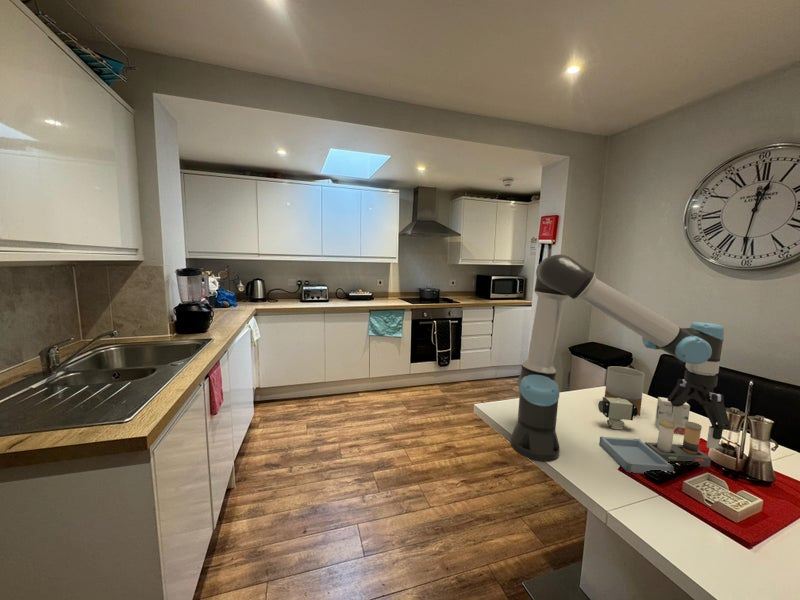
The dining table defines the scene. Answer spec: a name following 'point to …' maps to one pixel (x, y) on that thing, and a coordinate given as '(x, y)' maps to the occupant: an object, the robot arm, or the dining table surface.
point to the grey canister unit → (625, 385)
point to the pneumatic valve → (617, 411)
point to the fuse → (665, 436)
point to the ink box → (666, 414)
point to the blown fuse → (691, 438)
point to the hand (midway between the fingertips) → (692, 435)
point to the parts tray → (634, 455)
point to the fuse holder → (681, 455)
